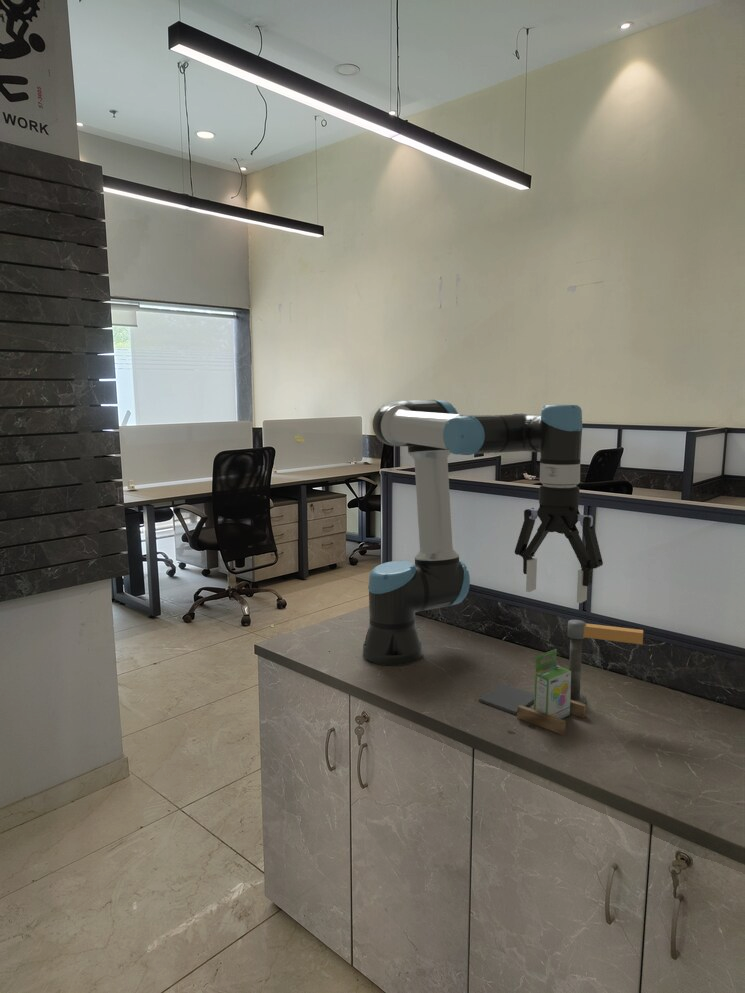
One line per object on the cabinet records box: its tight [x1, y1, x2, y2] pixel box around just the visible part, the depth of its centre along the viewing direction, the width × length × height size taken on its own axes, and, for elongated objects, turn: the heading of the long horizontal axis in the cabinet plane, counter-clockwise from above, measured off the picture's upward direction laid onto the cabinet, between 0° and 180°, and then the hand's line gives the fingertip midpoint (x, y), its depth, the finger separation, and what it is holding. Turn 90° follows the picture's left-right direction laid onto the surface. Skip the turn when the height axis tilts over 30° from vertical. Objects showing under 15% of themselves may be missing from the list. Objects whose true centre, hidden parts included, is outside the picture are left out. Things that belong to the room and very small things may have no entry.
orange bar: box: [567, 619, 644, 645], centre depth 134 cm, size 15×4×3 cm, turn 68°
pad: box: [478, 683, 534, 715], centre depth 139 cm, size 9×10×1 cm
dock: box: [516, 637, 587, 736], centre depth 133 cm, size 10×18×14 cm, turn 137°
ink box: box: [533, 648, 571, 720], centre depth 130 cm, size 7×4×13 cm, turn 126°
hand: (555, 595), depth 127 cm, fingers open, 10 cm apart
